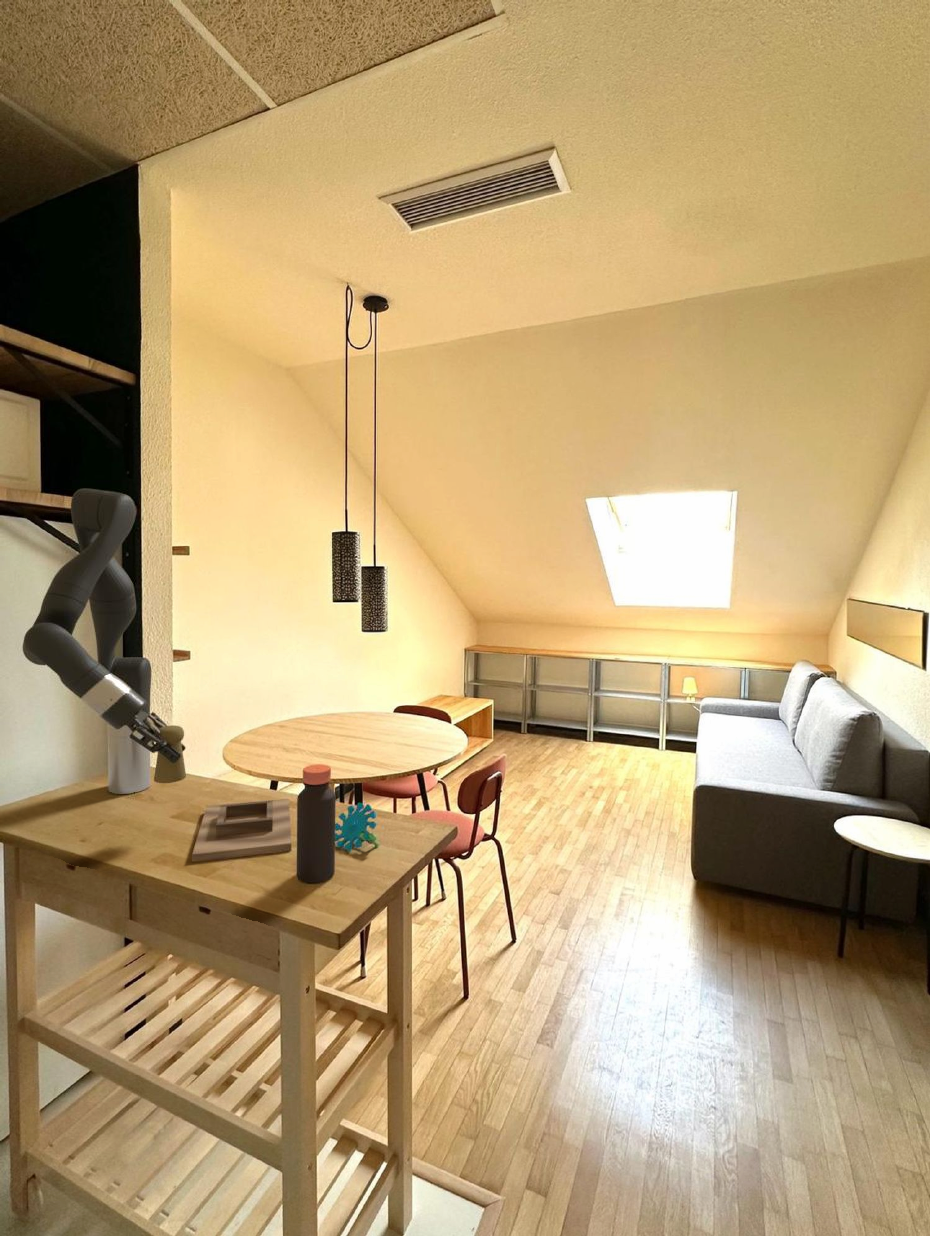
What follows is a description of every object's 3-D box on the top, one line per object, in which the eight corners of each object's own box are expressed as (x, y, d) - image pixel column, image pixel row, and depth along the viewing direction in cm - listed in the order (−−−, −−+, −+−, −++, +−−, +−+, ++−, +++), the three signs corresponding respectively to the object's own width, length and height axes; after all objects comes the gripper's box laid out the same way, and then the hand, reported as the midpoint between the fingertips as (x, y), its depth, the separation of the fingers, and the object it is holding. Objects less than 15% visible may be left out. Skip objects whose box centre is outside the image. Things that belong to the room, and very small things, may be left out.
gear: (322, 833, 118) (354, 793, 122) (337, 845, 122) (368, 806, 126) (352, 859, 110) (385, 816, 114) (368, 872, 114) (399, 829, 118)
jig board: (206, 812, 131) (206, 795, 130) (288, 804, 136) (288, 788, 136) (192, 862, 108) (192, 841, 108) (291, 850, 114) (291, 831, 114)
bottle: (290, 872, 105) (291, 766, 104) (325, 862, 109) (326, 760, 108) (305, 889, 100) (306, 777, 99) (340, 877, 104) (342, 770, 103)
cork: (175, 771, 124) (175, 721, 123) (192, 777, 121) (192, 725, 120) (147, 779, 119) (147, 727, 118) (164, 785, 115) (164, 731, 115)
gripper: (120, 694, 109) (189, 752, 114) (137, 681, 123) (198, 733, 127) (88, 723, 108) (159, 780, 112) (109, 706, 121) (172, 758, 126)
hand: (180, 755), depth 120 cm, fingers closed on cork, 4 cm apart
